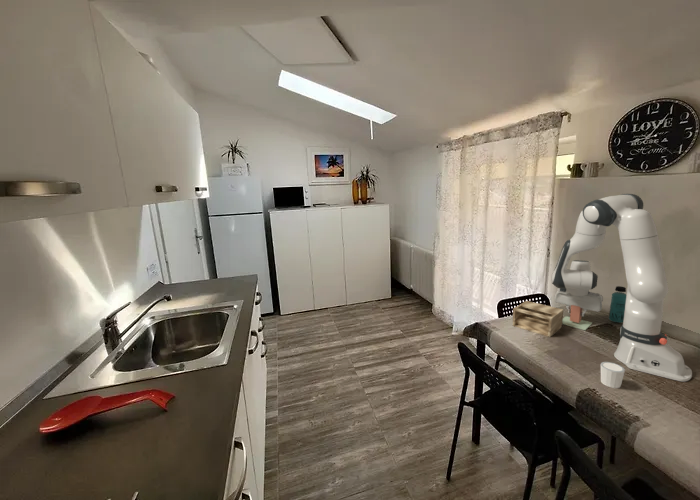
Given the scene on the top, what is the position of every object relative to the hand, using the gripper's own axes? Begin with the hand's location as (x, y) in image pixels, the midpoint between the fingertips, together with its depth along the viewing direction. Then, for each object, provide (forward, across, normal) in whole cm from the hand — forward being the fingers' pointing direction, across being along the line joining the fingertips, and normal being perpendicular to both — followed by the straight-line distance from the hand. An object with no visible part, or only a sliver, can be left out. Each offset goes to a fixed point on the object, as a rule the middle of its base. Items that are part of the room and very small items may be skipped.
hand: (576, 314), depth 160 cm
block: (+4, 0, 0) cm, 4 cm away
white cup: (+5, -25, +49) cm, 55 cm away
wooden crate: (+5, +12, +18) cm, 22 cm away
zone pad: (+5, 0, 0) cm, 5 cm away
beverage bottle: (+5, -14, -15) cm, 21 cm away
